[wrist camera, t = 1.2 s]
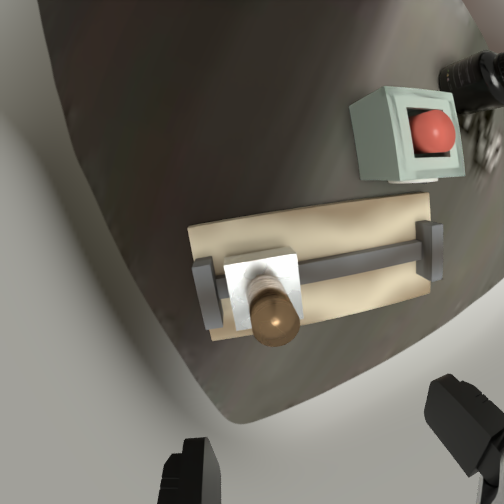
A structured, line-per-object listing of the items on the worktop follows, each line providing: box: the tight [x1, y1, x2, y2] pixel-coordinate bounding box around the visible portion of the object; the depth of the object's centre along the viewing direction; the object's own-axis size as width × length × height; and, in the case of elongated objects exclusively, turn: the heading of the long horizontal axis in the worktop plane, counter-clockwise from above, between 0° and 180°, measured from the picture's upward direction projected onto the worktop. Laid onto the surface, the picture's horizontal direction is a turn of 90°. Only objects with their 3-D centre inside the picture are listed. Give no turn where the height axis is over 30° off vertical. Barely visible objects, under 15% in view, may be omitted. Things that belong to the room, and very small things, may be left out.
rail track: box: [187, 192, 443, 341], centre depth 29 cm, size 12×26×5 cm, turn 99°
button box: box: [349, 86, 465, 184], centre depth 25 cm, size 9×8×8 cm
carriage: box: [224, 246, 304, 347], centre depth 24 cm, size 6×6×10 cm
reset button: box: [408, 110, 456, 154], centre depth 21 cm, size 4×4×4 cm
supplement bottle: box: [439, 50, 504, 114], centre depth 22 cm, size 7×7×12 cm
